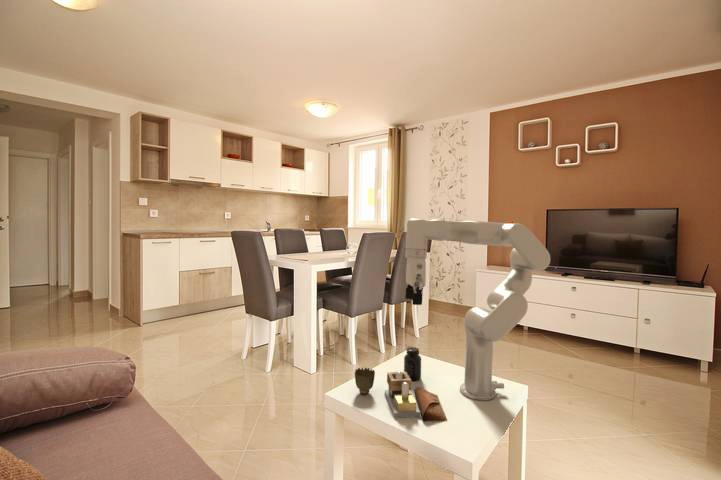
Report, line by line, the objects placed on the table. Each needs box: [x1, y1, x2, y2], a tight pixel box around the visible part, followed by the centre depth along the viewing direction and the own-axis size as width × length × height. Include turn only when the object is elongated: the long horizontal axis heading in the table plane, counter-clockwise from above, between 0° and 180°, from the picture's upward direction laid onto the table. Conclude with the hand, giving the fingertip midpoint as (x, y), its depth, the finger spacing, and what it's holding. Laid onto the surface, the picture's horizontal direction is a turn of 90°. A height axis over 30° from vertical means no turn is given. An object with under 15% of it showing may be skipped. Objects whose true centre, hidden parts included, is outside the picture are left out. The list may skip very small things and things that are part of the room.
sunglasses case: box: [414, 386, 448, 422], centre depth 121 cm, size 18×7×7 cm, turn 0°
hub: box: [394, 382, 417, 412], centre depth 117 cm, size 6×6×8 cm
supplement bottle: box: [403, 346, 422, 383], centre depth 143 cm, size 7×7×12 cm
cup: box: [354, 367, 376, 395], centre depth 130 cm, size 8×7×8 cm
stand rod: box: [387, 370, 403, 399], centre depth 126 cm, size 6×6×8 cm
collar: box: [386, 371, 412, 391], centre depth 126 cm, size 7×7×4 cm
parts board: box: [384, 389, 421, 419], centre depth 122 cm, size 8×16×2 cm, turn 7°
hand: (413, 301), depth 127 cm, fingers open, 9 cm apart
